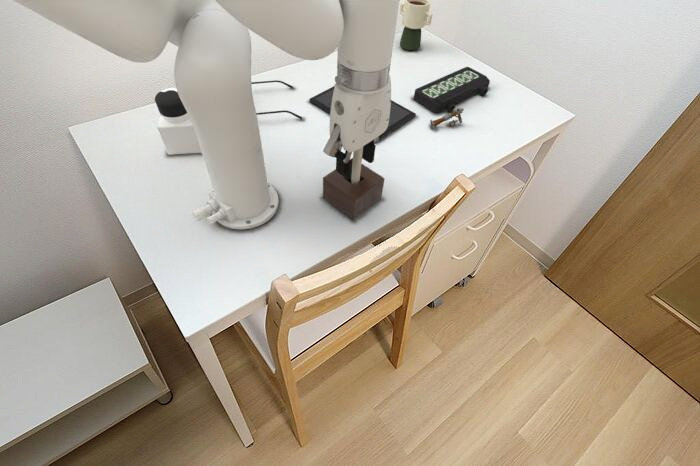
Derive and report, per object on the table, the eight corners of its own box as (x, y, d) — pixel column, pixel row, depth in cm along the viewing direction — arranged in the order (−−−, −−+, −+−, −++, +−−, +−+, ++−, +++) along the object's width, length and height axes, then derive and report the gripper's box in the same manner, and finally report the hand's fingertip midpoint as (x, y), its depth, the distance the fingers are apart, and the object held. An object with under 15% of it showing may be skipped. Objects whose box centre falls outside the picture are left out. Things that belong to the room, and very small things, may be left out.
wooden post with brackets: (466, 122, 92) (464, 108, 88) (435, 137, 93) (432, 123, 89) (463, 118, 93) (461, 104, 89) (433, 132, 94) (429, 119, 90)
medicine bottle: (203, 153, 81) (187, 103, 72) (168, 155, 80) (147, 105, 71) (205, 132, 85) (191, 83, 76) (172, 134, 84) (153, 84, 75)
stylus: (353, 202, 75) (359, 145, 64) (348, 198, 75) (352, 141, 64) (359, 198, 75) (365, 141, 64) (353, 194, 76) (358, 137, 65)
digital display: (443, 106, 92) (414, 88, 96) (440, 117, 94) (412, 99, 99) (497, 80, 101) (467, 64, 105) (493, 91, 103) (464, 75, 108)
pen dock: (353, 220, 72) (355, 200, 68) (322, 197, 75) (322, 177, 71) (381, 198, 76) (384, 178, 71) (351, 178, 79) (352, 157, 75)
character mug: (430, 50, 116) (441, 3, 106) (417, 57, 112) (426, 10, 102) (402, 37, 120) (409, -9, 110) (388, 44, 116) (394, -3, 106)
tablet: (375, 143, 86) (376, 139, 86) (309, 102, 95) (309, 98, 94) (415, 116, 94) (416, 113, 93) (350, 80, 102) (350, 77, 102)
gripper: (340, 105, 49) (336, 201, 63) (419, 61, 57) (400, 155, 72) (301, 81, 52) (305, 178, 66) (381, 43, 60) (370, 137, 75)
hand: (354, 165), depth 69 cm, fingers open, 5 cm apart
